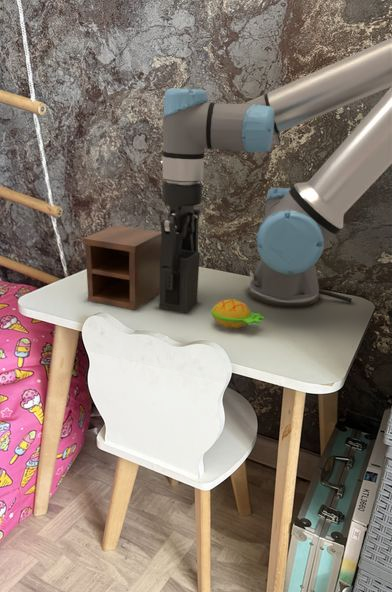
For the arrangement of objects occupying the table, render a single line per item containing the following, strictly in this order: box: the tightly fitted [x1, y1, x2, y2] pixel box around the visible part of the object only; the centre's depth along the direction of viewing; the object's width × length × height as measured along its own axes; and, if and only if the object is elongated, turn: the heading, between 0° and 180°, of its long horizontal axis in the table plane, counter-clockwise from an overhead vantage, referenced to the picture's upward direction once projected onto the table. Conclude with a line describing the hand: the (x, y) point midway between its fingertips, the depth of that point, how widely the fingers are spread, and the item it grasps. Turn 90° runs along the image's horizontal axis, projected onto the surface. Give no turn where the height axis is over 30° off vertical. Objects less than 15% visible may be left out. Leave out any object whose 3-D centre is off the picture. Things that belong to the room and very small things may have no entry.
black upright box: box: [158, 249, 200, 314], centre depth 105 cm, size 6×6×11 cm
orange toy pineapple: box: [210, 298, 265, 329], centre depth 98 cm, size 7×10×5 cm
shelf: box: [82, 225, 162, 311], centre depth 109 cm, size 12×13×13 cm
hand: (178, 297), depth 107 cm, fingers closed on black upright box, 6 cm apart
